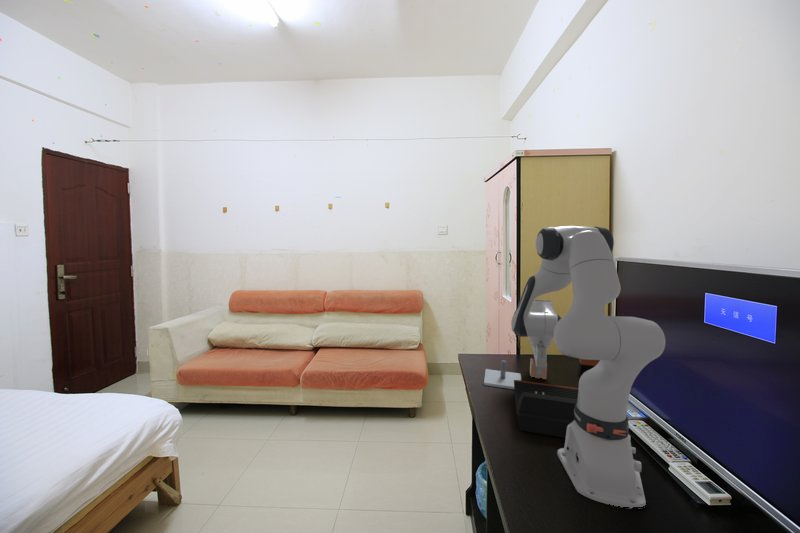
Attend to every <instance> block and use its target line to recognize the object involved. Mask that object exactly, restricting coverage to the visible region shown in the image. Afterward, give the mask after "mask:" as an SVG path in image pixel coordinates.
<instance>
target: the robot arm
mask: <svg viewBox="0 0 800 533" xmlns="http://www.w3.org/2000/svg"><path fill="white" fill-rule="evenodd" d="M614 244H615V242H614V236H613V234H612V232H611V231H610V229H608V228H606V227H603V226H602V227H601V226H583V225H582V226H580V225H578V226H577V225H563V226H549V227H543V228H542V229H541V230H540V231H539V232H538V233H537V236H536V238H535V249H536V253H537V255H538V256H539V257H540V258H541V259H542V260H541V264H540V267H539V269H538V270H537V272H536V273H535V274H534V275H532V276H530V277H529V278H528V280H527V281H526V282H525V283H526V284H525V286H524V289H523V291H522V293H521V297H520V299H519V302H518V304H517V307H516V309H515V311H514V313H513V315H512V317H511V322H510V324H511V331H512V332H513V333H514V334H515V335H517V336H518V337H519V338H522V337H523V338H524V337H525V338H527V337H528V342H529V343H530V344H531V347H532V354H533V357H534V359H535V363H536V367H537V374H538V375H541V374H542V368H546V363H547V358H548V357H547V355H548V352H547V349H548V348H549V346H551V345H552V344H553V343H552V342H554V344H555V347H556V348H557V350H558V351H559V352H560V353H561V354H562V355H563V356H567V357H571V358H575V359H578V360H579V359H586V360H600V361H599V363H598V364H597V365H596V366H595V367H593V368H592V369H590V370H588V371H586V372H584V373H583V374H582V376H581V377H580V376H579V377H580V378H579V381H578V387H577V388H578V400H577V403H576V405H575V409H574V421H573V422H572V423H570V424H569V425H568V426H567V431H566V438H564V439H565V440H564V441H565V442H564V447H561V448H559V449H557V452H556V455H557V458H558V459H559V460H560V462H561V464H562V466H563V468H564V470H565V471H566V473H567V476H568V477H569V480H571V483H572V485H573V486H574V488H575V490H576V492H577V493H579V494H580V495H582V496H584V497H586V498H587V499H590V500H593V501H595V502H598V503H601V504H602V503H603V504H605V505H609V504H610V506H613V505H614V506H613V507H618V506H620V507H619V508H623V507H629V508H628V509H632V508H633V507H643V506H645V505H646V506H647V504H646V502H647V500H646V497H645V492H644V488H643V483H642V479H641V474H640V473H641V472H642V467H643V466H642V462H641V461H639V460H636V459H634V455H633V454H636V452H637V449H636V447H633V446H632V442H631V438H632V437H631V435H630V434H629V428H630V425H629V417H628V415H627V414H628V405H629V398H630V393H631V389H632V386H633V384H634V382H635V380H636V378H637V377H638V375H639V374H640V372H641V371H642V370H643V369H644V368H645V367H646V366H647V365H648V364H650V362H652V361H654V360H656V359H658V358H659V357H661V355H662V354H663V353H664V352H665V351H664V350H665V348H666V336H665V333H664V331H663V329H662V327H660V326H659V324H658V323H656V322H655V321H653V320H649V319H645V318H641V317H636V316H621V315H620V316H618V315H617V316H616V315H614V316H613V315H607V314H606V311H605V310H606V309H605V307H606V305H608V304H610V303H612V302H613V301H615V300H616V299H617V298H618V297H619V295H620V293H621V290H622V288H621V286H622V285H621V283H620V279H619V275H618V270H617V267H616V262H615V260H614V256H613V253H612V252H613V250H614ZM570 284H572V292H573V295H572V296H573V297H572V302H571V305H570V308H569V310H568V311H567V313H566V314H565V315H564V316H563V317H561V316H560V315H559V314H558V313H556V312H555V310H554V303H553V302H552V301H551V300H543V299H540V300H539V299H537V298H538V297H540V296H543V295H546V294H550V293H553V292H557V291H561V290H563V289H565V288H567V287H568V286H569V285H570Z"/></svg>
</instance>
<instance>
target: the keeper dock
mask: <svg viewBox="0 0 800 533" xmlns="http://www.w3.org/2000/svg"><path fill="white" fill-rule="evenodd" d="M483 380H484V381H483V386H488V387H495V388H502V389H509V390H514V380H521V381H522V374H521V373H520V372H519V373H518V372H512V371H507V360H504V359H502V360H500V370H498V369H489V368H485V371H484V379H483Z"/></svg>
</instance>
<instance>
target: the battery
mask: <svg viewBox="0 0 800 533" xmlns="http://www.w3.org/2000/svg"><path fill="white" fill-rule="evenodd" d="M599 361H600V360H586V359H579V358H578V369H577V370H578V371H577V375H579V377H581V376H582V374H583V373H584V372H586V371H588V370H590V369H592V368H593V367H595V366H596V365H597V364H598V363H599Z"/></svg>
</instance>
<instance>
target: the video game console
mask: <svg viewBox="0 0 800 533" xmlns="http://www.w3.org/2000/svg"><path fill="white" fill-rule="evenodd" d="M513 390H514V398H515V399H514V400H515V411H516V412H515V414H516V419H517V425H518V429H519V430H520V431H522V432H528V433H533V434H534V433H535V434H539V435H546V436H552V437H558V438H564V439H566V431H567V426H568V425H569V424H570V423H572V422H573V421H574V409H575V405H576V403H577V400H578V387H573V386H566V385H559V384H558V385H557V384H550V383H543V382H535V381H527V380H522V379H521V380H514V389H513Z"/></svg>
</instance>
